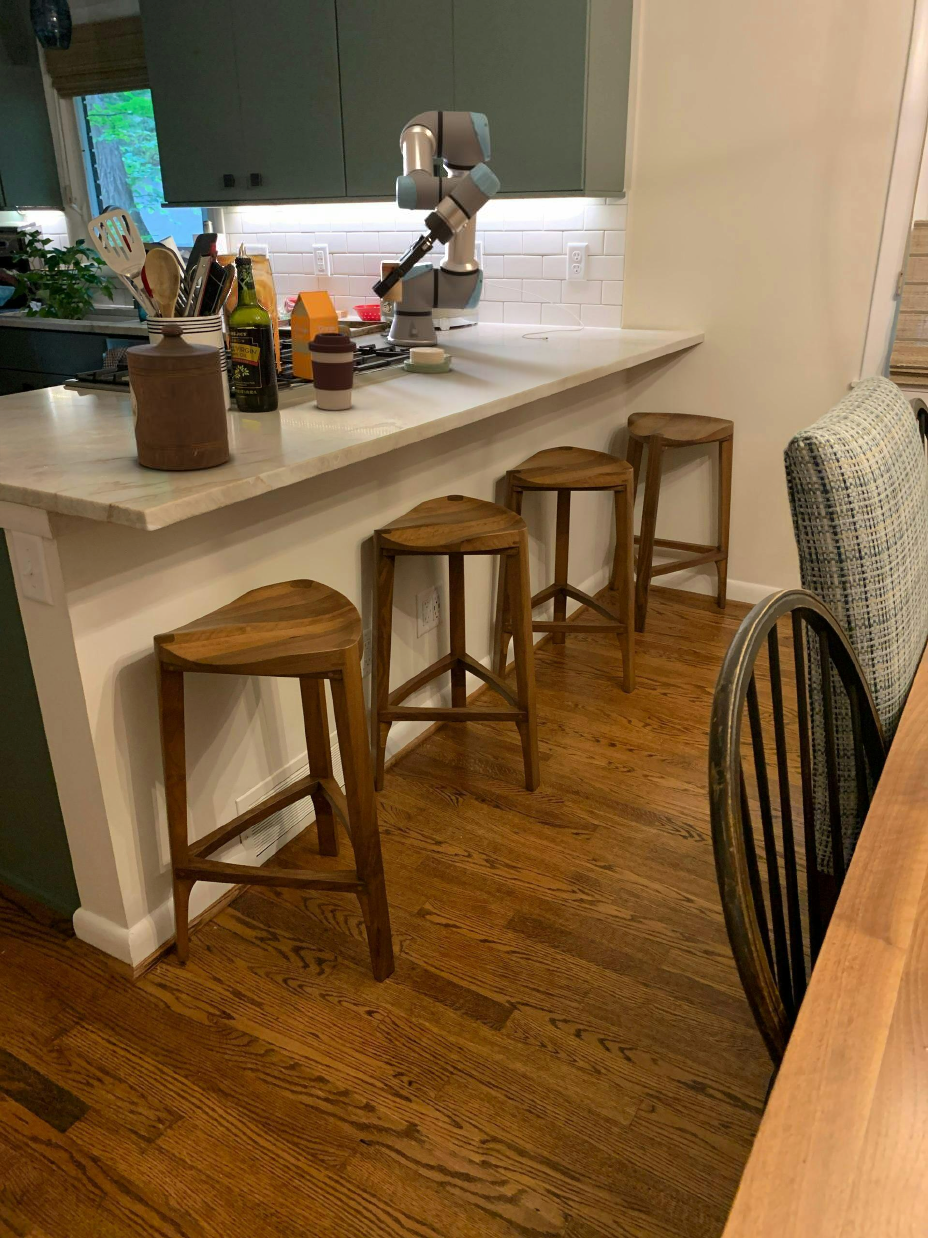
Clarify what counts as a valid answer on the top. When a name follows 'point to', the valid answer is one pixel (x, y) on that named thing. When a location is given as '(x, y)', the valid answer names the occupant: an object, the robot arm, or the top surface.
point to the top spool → (396, 290)
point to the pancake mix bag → (263, 292)
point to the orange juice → (310, 327)
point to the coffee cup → (332, 369)
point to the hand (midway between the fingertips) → (376, 293)
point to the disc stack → (426, 361)
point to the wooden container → (178, 403)
